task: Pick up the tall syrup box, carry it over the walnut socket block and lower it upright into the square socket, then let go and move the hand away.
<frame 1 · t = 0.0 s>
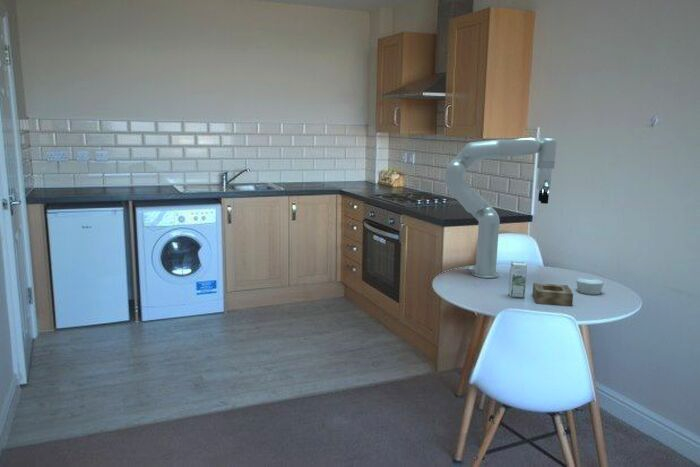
hand: (543, 202, 273), 37 cm above the table, tool pointing down, fingers open, 9 cm apart
ramekin: (588, 292, 258), on the table
syrup box: (516, 296, 248), on the table
socket block: (551, 299, 244), on the table
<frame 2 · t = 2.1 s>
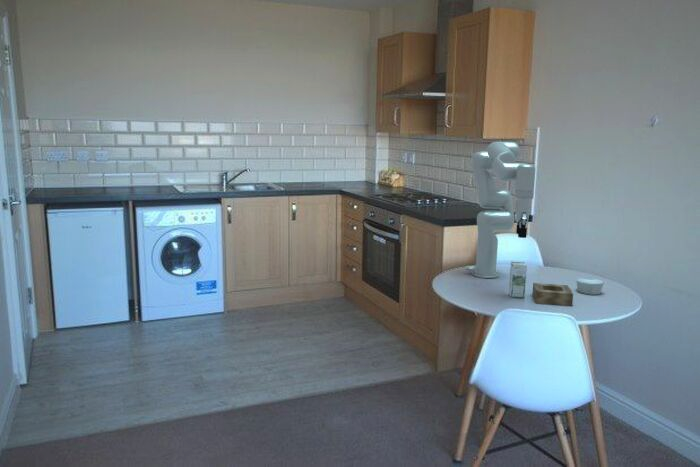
hand: (521, 235, 244), 26 cm above the table, tool pointing down, fingers open, 9 cm apart
nothing on the table moved.
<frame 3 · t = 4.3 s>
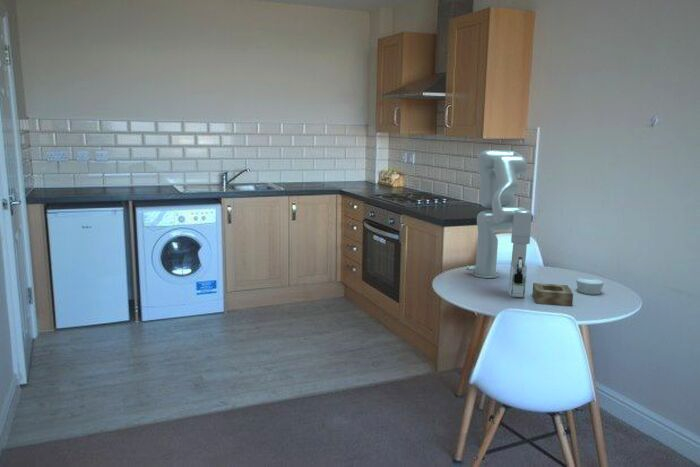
hand: (517, 280, 247), 7 cm above the table, tool pointing down, fingers closed on syrup box, 6 cm apart
syrup box: (516, 296, 248), on the table, touching gripper
everything else where it was.
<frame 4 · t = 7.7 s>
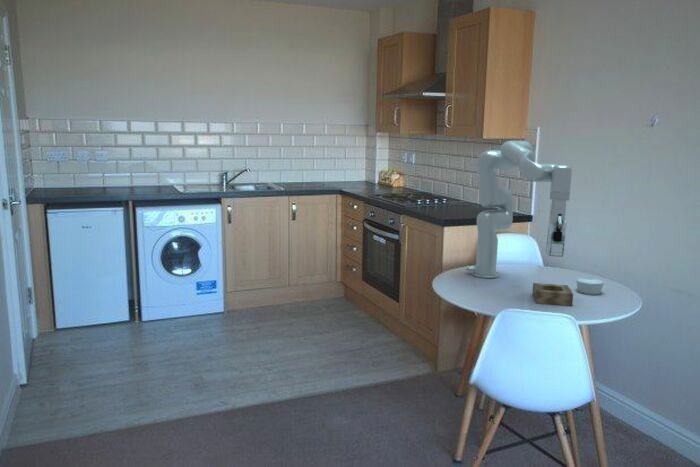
hand: (556, 239, 239), 26 cm above the table, tool pointing down, fingers closed on syrup box, 6 cm apart
syrup box: (554, 255, 241), point 19 cm above the table, touching gripper
everything else where it was.
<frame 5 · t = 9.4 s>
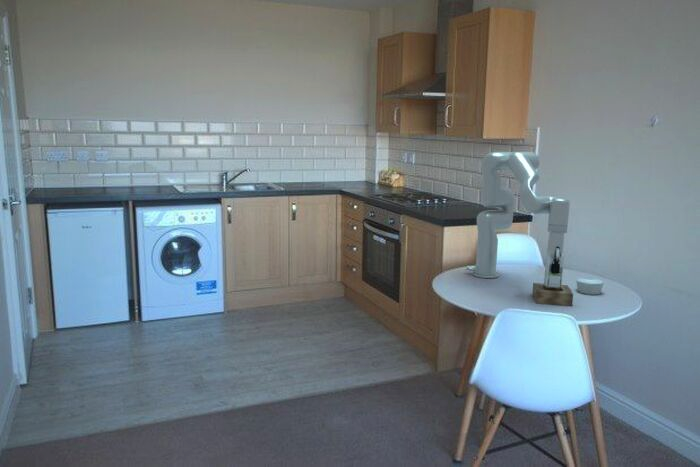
hand: (553, 271, 242), 12 cm above the table, tool pointing down, fingers closed on syrup box, 6 cm apart
syrup box: (552, 286, 243), point 5 cm above the table, touching gripper
everything else where it was.
when the fingers open (7 cm above the table, at t = 10.9 s): syrup box stays where it is, resting in socket block.
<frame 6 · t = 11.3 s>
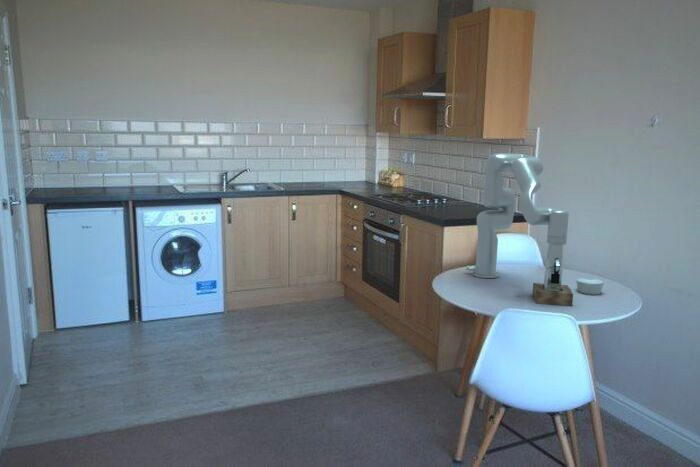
hand: (553, 280, 242), 8 cm above the table, tool pointing down, fingers open, 9 cm apart
syrup box: (551, 300, 244), resting in socket block
everything else where it was.
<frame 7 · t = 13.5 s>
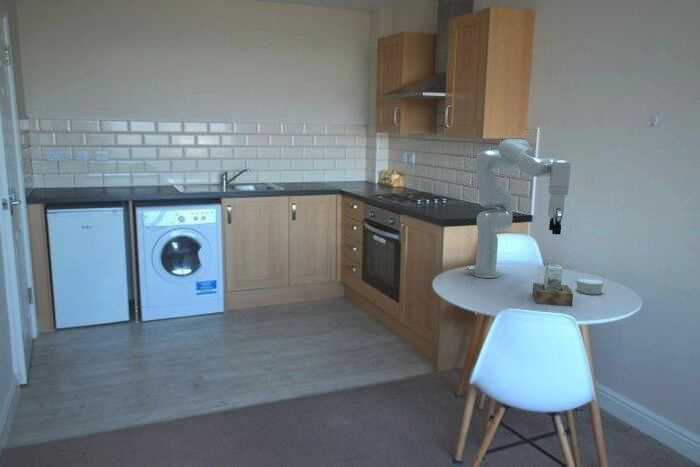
hand: (554, 232, 240), 28 cm above the table, tool pointing down, fingers open, 9 cm apart
nothing on the table moved.
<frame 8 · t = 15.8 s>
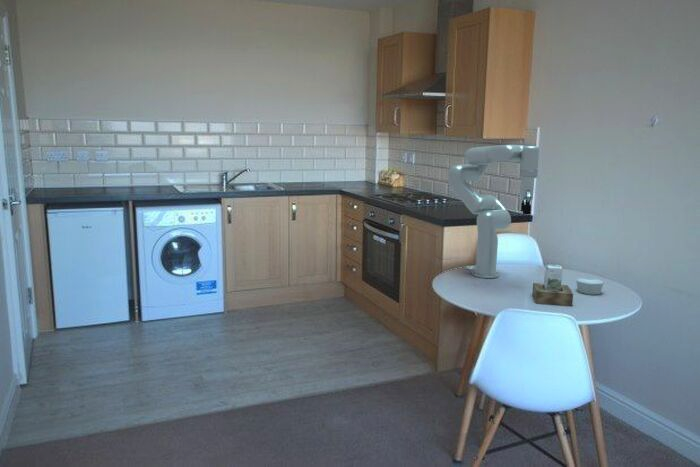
hand: (525, 212, 260), 33 cm above the table, tool pointing down, fingers open, 9 cm apart
nothing on the table moved.
at the end: syrup box 0.2 cm off-centre on the socket block, point 0.0 cm above the socket block's base; syrup box tilted 0°; the gripper is holding nothing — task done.
